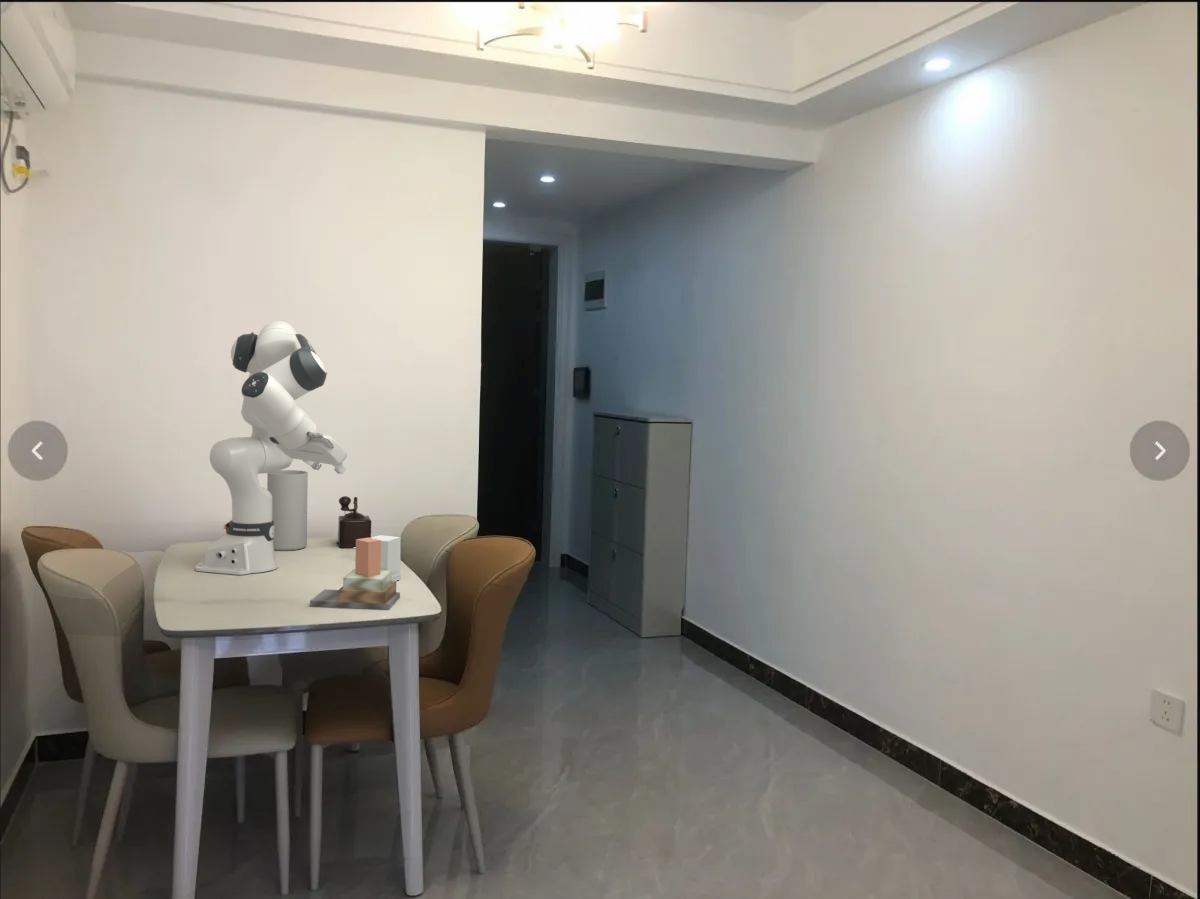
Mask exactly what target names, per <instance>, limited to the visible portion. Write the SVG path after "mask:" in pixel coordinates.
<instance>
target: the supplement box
mask: <svg viewBox="0 0 1200 899" xmlns="http://www.w3.org/2000/svg"><path fill="white" fill-rule="evenodd" d="M371 538H373V539H377V540H381V565H380V570H384V571H392V581H396V582H398V581H397V580H399V579H400V580H401V552H402V551H401V545H402V544H401V542H402V539H401V538H402V537H400V536H392V535H383V534H379V535H375V536H372V537H371ZM400 580H399V581H400Z"/></svg>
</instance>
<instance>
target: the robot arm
mask: <svg viewBox="0 0 1200 899" xmlns="http://www.w3.org/2000/svg"><path fill="white" fill-rule="evenodd" d="M230 358H231V361H232V366H233V367H234V368H235V370H238V371H239V372H243V373H249V375H248V377H247V378H246V380H244V382H243V384H242V387H241V395H242V398H243V400H242V406H241V410H240V414H241V416H242V417H241V418H243V420H244V421H245V422H246V423H247V424H249V425H250V426H251V430H252V432H251V435H250V436H248V437H247V436H245V437H244V436H243V437H229V438H226V439H223V440H219V441H217V442H215V443H214V444H213V445H212V447H211V449H210V452H209V462H210V466H211V467H212V469H213V470H214V472H215V473H217V474H219V475H220V476H221V478H222V479H223V480H224V481H225V483H226V485H227V487H228V489H229V492H230V496H231V517H232V518H231V520H230V521H229V522H227V523H225V524H224V525H223V530H225V534H223V535H222V536H221V537H219V538H218V539H216V540H215V541H214V542H212V543H211V544H210V545H209V546H208V547H207V548H206V550H205V553H204V556H203V560H202V561H201V562H199V563H197V564H196V565H195V569H194V570H195V571H196V572H203V573H213V574H214V573H215V574H216V573H217V574H226V575H237V576H242V575H243V576H244V575H249V574H254V573H255V574H257V573H265V572H269V571H273V570H276V569H278V568H279V567H278V562H277V559H276V555H275V550H274V547H273V539H274V521H273V520H272V495H271V493H270V492H269V491H268V490H267V488H264V487H263V486H262V485H261V484H260V481H259V478H258V474H259V475H260V474H267V473H272V472H277V471H280V470H285V469H288V468H289V467H290V466H291V465H292V463H293V461H294V460H300V461H302V462H304V463H305V464H307V465H308V466H310V467H311V469H312V470H315V471H319V470H320V469H321V467H322V464H325V465H331V466H333V467H334V471H335V472H336V474H338V475H339V474H340V475H343V474H344V473H346V470H347V469H346V467H345V466H344V465H343V462H344V461H345V460H346V458H347V457H348V454H347V451H346V450H345V449H344V448H343V447H342V446H341V445H340V444H339V443H338V442H337V441H336V440H335V439H334V438H333V437H331V435H328V434H326V433H319V432H318V433H317V432H316V430H317V425H316V423H315V422H314V421H313V419H312V418H311V417H310V416H309V415H308V414H307V413H306V411H305V410H304V409H303V408H301V407H300V406H299V405H298V404H296V401H297V399H299V398H301V397H303V396H304V395H306V394H308V393H310V392H312V391H315V390H316V389H318V388H321V387H323V386H324V384H325V382H326V379H327V374H328V372H327V370H326V366H325V363H323V361H322V359H321V358H320V357H319V355H318V354H317V352H316V351H315V349H314V348H313V346H312V344H311V343H310V342H309V340H308V339H307V338H306V337H305V336H304V335H303V334H300V333H297V331H296V328H294V327H293V326H292V325H291V324H290V323H288V322H287V321H285V320H284V321H283V320H272V321H270V322H268V323H267V324H266V325H264V326H263V328H262V329H261V330H260V331H259V333H258V334H256V333H254V331H253V332H251V333H245V334H242V335H240V336H237V339H236V340H235V341H234V343H233V344H232V346H231V350H230ZM295 400H296V401H295Z"/></svg>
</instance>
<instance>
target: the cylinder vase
mask: <svg viewBox="0 0 1200 899" xmlns="http://www.w3.org/2000/svg"><path fill="white" fill-rule="evenodd" d="M266 475H267V476H266V477H267V483H266V484H267V485H266V487H267V488H266V489H267V490H268V491H269V492H270V493H271V495H272V520H273V521H274V539H273V547H274V551H279V552H280V551H281V552H282V551H283V552H284V551H285V552H286V551H287V552H289V551H290V550H291V551H298V549H299V550H302V549H305V548H306V547H307V545H308V484H309V483H308V482H309V481H308V478H309V476H308V471H306V470H305V471H304V470H295V469H294V470H293V469H292V470H291V469H290V470H289V469H287V470H285V469H283V470H280V471H277V472H272V473H266Z"/></svg>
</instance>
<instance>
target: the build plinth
mask: <svg viewBox="0 0 1200 899" xmlns="http://www.w3.org/2000/svg"><path fill="white" fill-rule="evenodd" d="M398 599H399V600H400V599H401V592H398V591H397V581H392V571H384V570H380V575H376V576H371V577H366V576H362V575H358V574H355V569H353V570H352V571H350V572H349V573H348V574H346V575H345V576H343V578H342V586H341V587H340V588H339V589H327V588H325V589H324V590H322V591H321V592H320V593H318V594H317V595H316V596H315V597H313V598H312V599H310V600H309V607H311V608H312V607H313V608H314V607H315V608H332V609H333V608H335V609H336V608H337V609H338V608H339V609H355V610H356V609H357V610H358V609H361V610H383V611H384V610H385V611H389V610H391V608H393V606H394V605H395V604H396V603H397V602H398V601H399V600H398ZM397 600H398V601H397ZM396 601H397V602H396Z"/></svg>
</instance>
